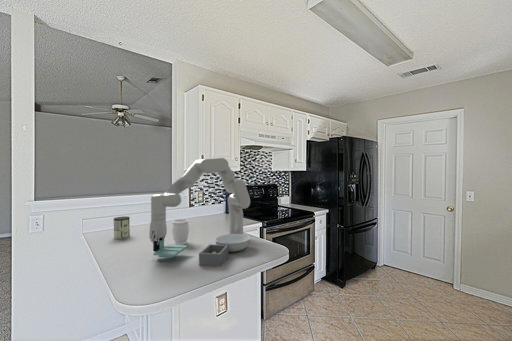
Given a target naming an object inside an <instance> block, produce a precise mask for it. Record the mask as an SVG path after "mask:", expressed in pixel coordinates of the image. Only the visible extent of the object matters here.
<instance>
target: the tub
mask: <svg viewBox="0 0 512 341" xmlns="http://www.w3.org/2000/svg"><path fill="white" fill-rule="evenodd" d="M228 257H229V252H228V245H216V244H212V243H211V244H208V245H207V246H206V247H205V248H204V249H202V250H201V251H200V252H199V253H198V266H208V267H221V266H222V265H223V264H224V263H225V261H226V260H227V259H228Z"/></svg>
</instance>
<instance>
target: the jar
mask: <svg viewBox="0 0 512 341" xmlns="http://www.w3.org/2000/svg"><path fill="white" fill-rule="evenodd" d="M189 222H190V221H189V219H175V220H172V221H171V223H172V229H171V233H172V238H173V241H174V243H173V245H187V244H188V239H189V232H190V226H189Z"/></svg>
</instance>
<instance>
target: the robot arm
mask: <svg viewBox="0 0 512 341" xmlns="http://www.w3.org/2000/svg"><path fill="white" fill-rule="evenodd" d="M213 173H215V174H216V173H217V174H218V175H219V177H220V179H221V181H222V184H223V187H224V189H225V191H226V192H227V193H228V194H229V196H228V198H227V205H228V216H229V218H228V220H229V223H228V224H229V228H228V229H229V230H228V231H229V233H228V234H244V212H243V209H245V210H246V209H248V208H249V207H250V205H251V198H250V194H249V191H248V188H247V186H246V183H245V182H244V181H243V180H242V179H239V178H236V177H235V176H234V173H233V170H232V169H231V167H230V166H229V161H228V160H227V159H226V158H225V157H224V158H223V157H220V158H219V157H218V158H202V159H196V160H195V161H194V162H193V163H192V164H191V165H190V166H189V168H188V169H187V170H186V171H185V172H184V174H182V176H181V177H179V178H178V179H177V180H176V181H174V182H173V183H172V184H171V185H170V186H169V187H168V188H167V189H166V190H165V192H164V193H163V194H153V195H151V197H150V217H151V218H150V219H151V220H150V224H149V239H150V242H151V243H152V246H153V245H154V251H153V253H155V252H156V251H158V250H159V249H160V244H159V240H163V247H164V246H165V238H166V236H167V221H166V219H167V208H176V207H178V206H180V204H181V203H182V198H181V195H180V194H181V193H183V192H184V191H185V190H187V189H189V188H191V187H193V186H195V184H196V183H197V182H198V181H199V179H200V177H202V175H203V174H213ZM156 240H157V241H156Z"/></svg>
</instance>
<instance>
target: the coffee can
mask: <svg viewBox="0 0 512 341" xmlns="http://www.w3.org/2000/svg"><path fill="white" fill-rule="evenodd" d="M130 226H131V225H130V216H125V215H124V216H117V217H114V218H113V239H116V240H118V239H119V240H120V239H121V240H122V238H123V239H126V238H129V237H130V236H131V235H130V234H131V233H130V232H131V231H130V230H131V229H130Z"/></svg>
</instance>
